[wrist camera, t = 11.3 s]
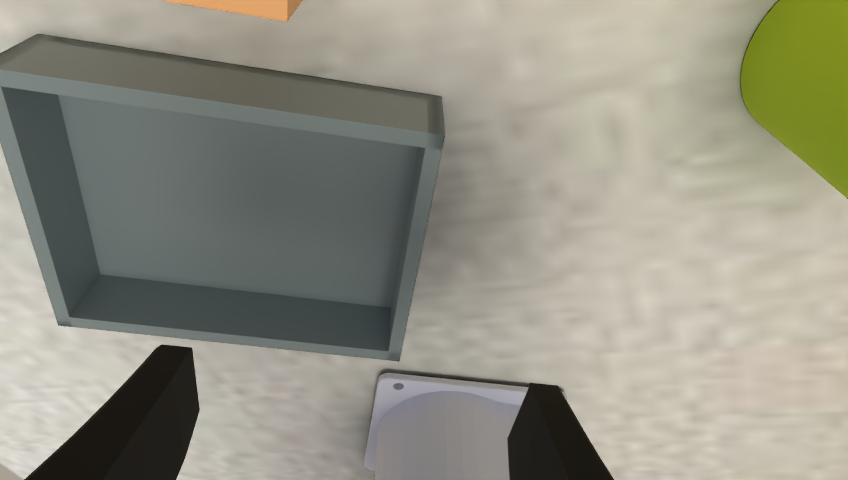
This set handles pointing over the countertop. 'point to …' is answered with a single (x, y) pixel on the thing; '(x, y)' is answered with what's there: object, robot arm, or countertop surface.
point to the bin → (219, 196)
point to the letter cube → (249, 7)
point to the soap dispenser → (803, 82)
